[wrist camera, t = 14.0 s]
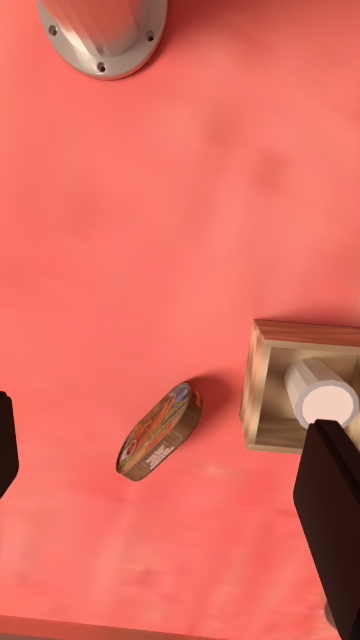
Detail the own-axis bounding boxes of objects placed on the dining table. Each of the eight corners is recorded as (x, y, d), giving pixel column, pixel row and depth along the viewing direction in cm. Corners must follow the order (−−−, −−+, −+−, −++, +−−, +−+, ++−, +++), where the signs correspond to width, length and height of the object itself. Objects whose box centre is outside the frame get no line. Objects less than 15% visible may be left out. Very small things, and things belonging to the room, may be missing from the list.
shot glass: (269, 388, 42) (283, 420, 35) (296, 344, 40) (316, 370, 33) (315, 407, 42) (337, 443, 36) (343, 365, 40) (372, 395, 34)
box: (253, 319, 40) (264, 339, 33) (366, 328, 40) (401, 350, 33) (239, 414, 44) (247, 449, 38) (341, 423, 44) (366, 460, 37)
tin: (189, 371, 43) (187, 406, 35) (206, 385, 43) (208, 423, 35) (121, 438, 47) (106, 483, 39) (137, 450, 47) (125, 497, 39)
